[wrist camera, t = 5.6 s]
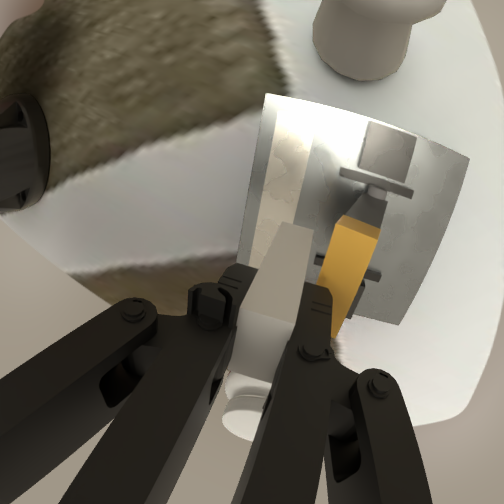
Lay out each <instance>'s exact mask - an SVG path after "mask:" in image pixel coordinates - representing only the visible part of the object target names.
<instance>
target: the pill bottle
mask: <svg viewBox="0 0 504 504" xmlns="http://www.w3.org/2000/svg"><path fill="white" fill-rule="evenodd" d="M271 386H272V384H271V383H268V382H264V381H261V380H258V379H254V378H251V377H248V376H245V375H242V374H239V373H236V372H233V371H230V372H229V374H228V376H227V379H226V382H225V392H226V395H227V397H228V399H229V402H228V403H227V405H226V408H225V411H224V414H223V417H222V422H223V424H224V426H225V427H226V428H227V429H228V430H229V431H230V432H232V433H233V434H235V435H237V436H239V437H241V438H243V439H246V440H249V441H253V440H254V437H255V434H256V431H257V428H258V424H259V421H260V418H261V415H262V412H263V409H262V407H263V405H264V403H265V401H266V398H267V396H268V394H269V391H270V389H271Z"/></svg>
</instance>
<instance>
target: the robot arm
mask: <svg viewBox="0 0 504 504" xmlns="http://www.w3.org/2000/svg"><path fill="white" fill-rule="evenodd" d="M48 171H49V139H48V132H47V127H46V122H45V119H44V115H43V113H42V110H41V108H40V106H39V104H38V102H37V101H36V100H35V99H34V98H33V97H32V96H31V95H29V94H27V93H20V94H14V95H9V96H6V97H4V98H2V99H1V100H0V213H2V212H13V211H20V210H23V209H25V208H27V207H29V206H31V205H33V204H35V203H36V202H37V201H38V200H39V199H40V198H41V196H42V194H43V192H44V189H45V186H46V182H47V178H48ZM313 232H314V230H312V229H308V228H305V227H301V226H298V225H294V224H290V223H287V222H283V221H282V222H281V225H280V227H279V229H278V231H277V233H276V235H275V237H274V239H273V241H272V243H271V245H270V247H269V249H268V251H267V253H266V255H265V257H264V259H263V261H262V263H261V265H260V267H259V269H257V268H253V267H250V266H246V265H243V264H240V263H236V264H234V265H232V266H230V267H228V268H227V269H226V271H225V272H224V274H223V275H222V277H221V278H220V279H219V281H218V283H212V282H210V283H200V284H197V285H194V286H193V287H191V288H190V289H189V290H188V307H187V314H186V315H184V316H170V315H161V314H157V310H156V307H155V306H154V305H153V304H152V303H151V302H150V301H148V300H145V299H143V298H135V297H134V298H127V299H124V300H122V301H119V302H118V303H116V304H114V305H113V306H111V307H110V308H108V309H107V310H105V311H103V312H102V313H100V314H99V315H97V316H95V317H94V318H92V319H91V320H89V321H88V322H86V323H84V324H83V325H81V326H80V327H78V328H77V329H75V330H74V331H72V332H70V333H69V334H67V335H66V336H64V337H63V338H61V339H60V340H58V341H57V342H55V343H54V344H52V345H50V346H49V347H48V348H46V349H44V350H43V351H41V352H40V353H38V354H37V355H36V356H34V357H32V358H31V359H29V360H28V361H26V362H25V363H23V364H22V365H20V366H19V367H18V368H16V369H14V370H13V371H12V372H10V373H9V374H7V375H6V376H4V377H3V378H1V379H0V504H10V503H11V502H13V501H14V500H15V499H17V498H18V497H19V496H20V495H22V494H23V493H24V492H26V491H27V490H28V489H29V488H31V487H32V486H33V485H34V484H36V483H37V482H38V481H39V480H41V479H42V478H43V477H45V476H46V475H47V474H48V473H50V472H51V471H52V470H53V469H54V468H56V467H57V466H58V465H59V464H60V463H62V462H63V461H64V460H65V459H67V458H68V457H69V456H70V455H71V454H73V453H74V452H75V451H76V450H77V449H78V448H80V447H81V446H82V445H83V444H84V443H86V442H87V441H88V440H89V439H91V438H92V437H93V436H94V435H95V434H96V433H98V432H99V431H100V430H101V429H102V428H103V427H105V426H106V424H108V423H109V422H110V421H111V420H113V419H114V420H113V421H112V423H111V424H110V426H109V427H108V429H107V430H106V432H105V433H104V435H103V436H102V438H101V439H100V441H99V442H98V444H97V445H96V447H95V448H94V450H93V451H92V453H91V454H90V456H89V457H88V459H87V460H86V462H85V463H84V465H83V466H82V468H81V469H80V471H79V472H78V474H77V475H76V477H75V479H74V480H73V482H72V483H71V485H70V486H69V488H68V489H67V491H66V492H65V494H64V496H63V497H62V499H61V500H60V502H59V503H58V504H166V503H167V501H168V499H169V497H170V495H171V493H172V491H173V489H174V487H175V485H176V483H177V480H178V478H179V476H180V474H181V472H182V470H183V468H184V466H185V464H186V462H187V460H188V457H189V455H190V453H191V451H192V449H193V447H194V444H195V442H196V440H197V438H198V436H199V434H200V431H201V429H202V427H203V425H204V423H205V421H206V418H207V416H208V414H209V412H210V410H211V407H212V405H213V403H214V400H215V398H216V396H217V394H218V392H219V390H220V387H221V385H222V382H223V376H224V373H225V371H226V369H227V366H228V370H230V371H233V372H236V373H239V374H242V375H245V376H248V377H251V378H254V379H258V380H261V381H264V382H268V383H271V384H272V386H271V389H270V391H269V394H268V396H267V398H266V401H265V403H264V405H263V407H262V409H263V412H262V415H261V418H260V421H259V424H258V428H257V431H256V434H255V437H254V440H253V443H252V446H251V449H250V452H249V455H248V458H247V461H246V464H245V466H244V470H243V472H242V475H241V478H240V481H239V483H238V486H237V489H236V492H235V494H234V497H233V500H232V502H231V504H315V499H316V495H317V489H318V485H319V479H320V474H321V468H322V462H323V456H324V461H325V470H326V480H327V490H328V502H329V504H433V503H432V498H431V494H430V489H429V485H428V481H427V477H426V473H425V469H424V465H423V461H422V458H421V454H420V451H419V447H418V443H417V440H416V437H415V433H414V430H413V427H412V423H411V420H410V417H409V414H408V411H407V408H406V405H405V402H404V399H403V396H402V393H401V390H400V388H399V385H398V384H397V382H396V380H395V379H394V378H393V377H392V376H391V375H390V374H389V373H387V372H385V371H383V370H380V369H375V368H372V369H366V370H365V371H363V372H362V373H360V374H358V373H356V372H354V371H352V370H350V369H348V368H346V367H345V366H343V365H342V364H340V363H339V362H338V361H337V360H336V358H335V356H334V351H333V350H332V348H331V347H330V340H331V326H332V307H333V296H332V295H331V293H330V291H329V289H328V288H326V287H323V286H319V285H316V284H312V283H309V282H305V281H304V280H305V275H306V270H307V265H308V260H309V254H310V249H311V243H312V238H313ZM228 364H229V365H228Z"/></svg>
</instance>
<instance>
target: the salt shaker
mask: <svg viewBox="0 0 504 504" xmlns="http://www.w3.org/2000/svg"><path fill="white" fill-rule="evenodd" d="M445 2H446V0H322V2H321V5H320V7H319V10H318V12H317V14H316V17H315V19H314V22H313V43H314V45H315V47H316V49H317V51H318V53H319V55H320V57H321V59H322V60H323V61H324V62H325V63H327V64H328V65H329V66H330V67H332V68H333V69H334V70H335V71H336V72H338V73H339V74H342V75H345V76H347V77H350V78H353V79H355V80H358V81H367V80H381V79H383V78H385V77H387V76H389V75H391V74H393V73H395V72H397V70H398V69H399V67H400V65H401V63H402V62H403V60H404V58H405V56H406V52H407V47H408V43H409V38H410V34H411V29H412V25H413V24H416V23H418V22H421V21H423V20H426V19H428V18H431V17H433V16H435V15H437V14H438V13H440V12H441V10H442V8H443V6H444V4H445Z"/></svg>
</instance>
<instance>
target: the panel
mask: <svg viewBox="0 0 504 504" xmlns="http://www.w3.org/2000/svg"><path fill="white" fill-rule="evenodd" d="M469 160H470V159H469V158H467V157H465V156H463V155H461V154H459V153H457V152H455V151H453V150H451V149H449V148H447V147H444V146H442V145H440V144H438V143H435V142H433V141H431V140H428V139H426V138H424V137H421V136H419V135H416V134H414V133H411V132H408V131H406V130H403V129H400V128H398V127H395V126H392V125H389V124H386V123H383V122H381V121H377V120H374V119H371V118H368V117H365V116H362V115H358V114H355V113H352V112H348V111H345V110H341V109H337V108H333V107H329V106H326V105H321V104H317V103H313V102H309V101H304V100H299V99H295V98H290V97H284V96H279V95H273V94H268V93H266V96H265V102H264V107H263V112H262V118H261V123H260V129H259V134H258V139H257V145H256V150H255V156H254V162H253V167H252V173H251V179H250V184H249V190H248V196H247V201H246V207H245V213H244V219H243V225H242V230H241V236H240V242H239V248H238V254H237V260H236V263H240V264H243V265H246V266H250V267H253V268H257V269H259V267H260V265H261V263H262V261H263V259H264V257H265V255H266V253H267V251H268V249H269V247H270V245H271V243H272V241H273V239H274V237H275V235H276V233H277V231H278V229H279V227H280V225H281V222H282V221H283V222H287V223H290V224H294V225H298V226H301V227H305V228H308V229H312V230H314V232H313V238H312V243H311V249H310V254H309V260H308V265H307V270H306V275H305V280H304V281H305V282H309V283H312V284H316V283H317V280H318V277H319V274H320V271H321V268H322V265H323V262H324V259H325V256H326V253H327V250H328V247H329V244H330V240H331V237H332V234H333V231H334V228H335V224H336V223H337V221H338V220H339V219H340V218H341V217H342V216H343V215H345V214H346V213H347V212H348V210H349V209H350V208H351V207H352V206H353V204H354V203H355V202H356V201H357V200H358V198H359V197H360V196H361V195H362V194H363V192H365V193H367V192H368V188H369V185H375V186H378V187H381V188H383V189H385V190H387V191H388V193H387V196H386V199H385V200H386V201H388V204H387V207H386V211H385V214H384V218H383V221H382V224H381V228H380V229H381V232H380V235H379V238H378V241H377V244H376V247H375V249H374V252H373V254H372V257H371V259H370V262H369V264H368V267H367V269H366V272H365V274H364V277H363V279H362V281H361V284H360V286H359V288H358V291H357V293H356V295H355V297H354V300H353V302H352V304H351V306H350V308H349V311H348V313H347V315H346V317H345V318H348V319H351V317H352V315H353V314H355V315H359V316H363V317H367V318H371V319H375V320H379V321H383V322H387V323H391V324H395V325H399V324H400V322H401V321H402V319H403V317H404V315H405V314H406V312H407V310H408V308H409V306H410V305H411V303H412V301H413V299H414V297H415V295H416V293H417V291H418V290H419V288H420V286H421V284H422V282H423V280H424V278H425V276H426V274H427V271H428V269H429V267H430V265H431V263H432V261H433V259H434V256H435V254H436V252H437V250H438V247H439V245H440V243H441V240H442V238H443V236H444V233H445V231H446V228H447V226H448V223H449V221H450V218H451V215H452V213H453V210H454V207H455V204H456V202H457V199H458V196H459V193H460V190H461V187H462V184H463V180H464V177H465V174H466V170H467V167H468V163H469Z"/></svg>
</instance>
